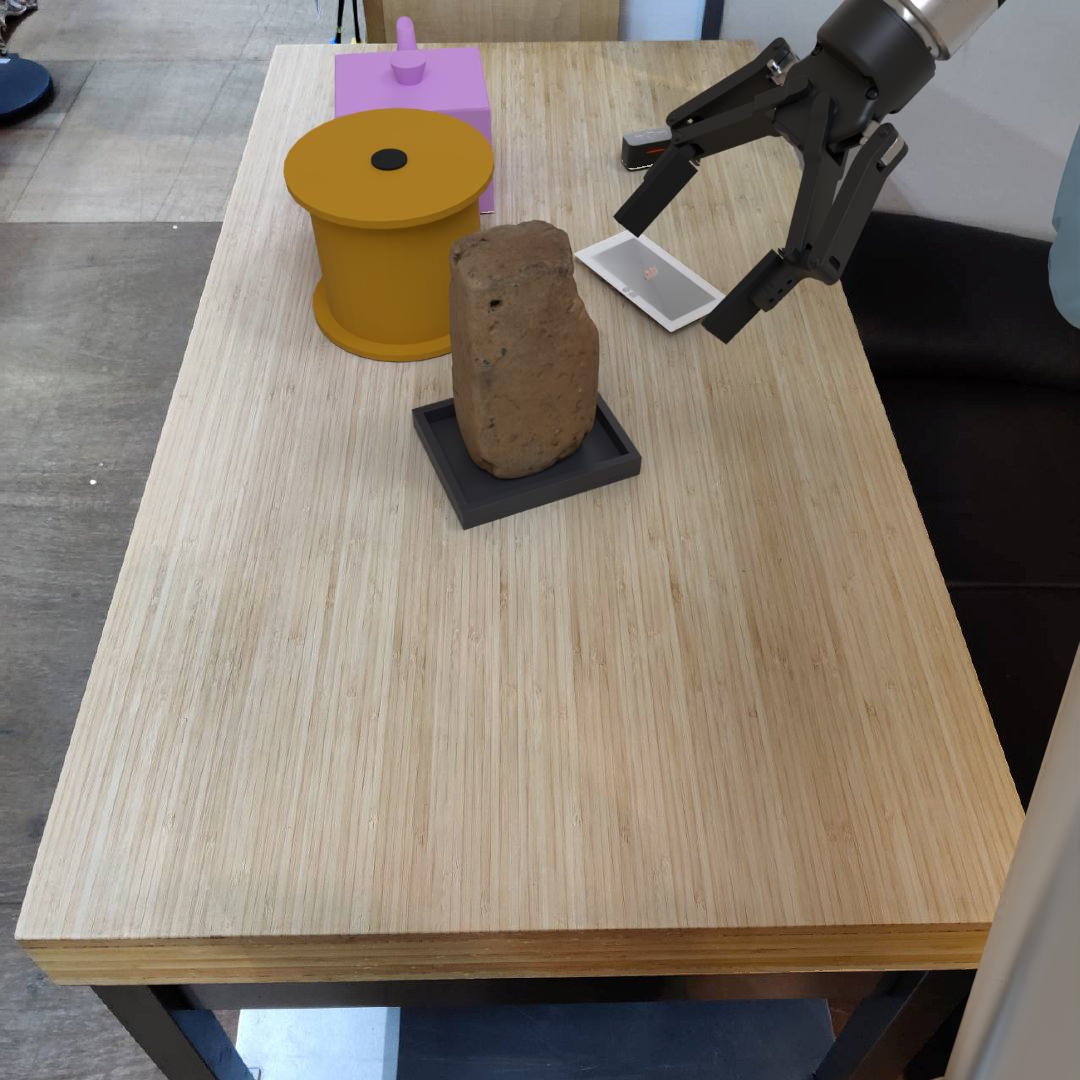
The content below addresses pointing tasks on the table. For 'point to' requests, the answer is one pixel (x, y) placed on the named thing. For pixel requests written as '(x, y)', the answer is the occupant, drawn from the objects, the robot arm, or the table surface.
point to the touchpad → (652, 279)
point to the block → (520, 348)
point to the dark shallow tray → (493, 498)
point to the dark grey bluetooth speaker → (645, 146)
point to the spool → (388, 224)
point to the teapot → (417, 84)
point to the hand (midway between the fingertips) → (666, 278)
